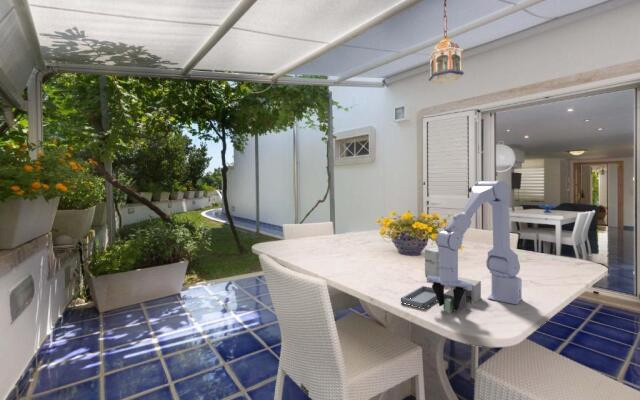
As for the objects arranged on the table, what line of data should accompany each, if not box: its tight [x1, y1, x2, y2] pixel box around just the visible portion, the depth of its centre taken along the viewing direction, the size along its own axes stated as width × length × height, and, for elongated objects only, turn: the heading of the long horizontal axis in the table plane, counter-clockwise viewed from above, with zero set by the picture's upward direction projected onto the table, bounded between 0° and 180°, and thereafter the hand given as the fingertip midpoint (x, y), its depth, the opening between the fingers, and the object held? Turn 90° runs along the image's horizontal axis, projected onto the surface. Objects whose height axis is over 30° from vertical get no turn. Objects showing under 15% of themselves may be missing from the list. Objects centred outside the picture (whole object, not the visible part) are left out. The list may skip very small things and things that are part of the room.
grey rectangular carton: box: [442, 288, 467, 314], centre depth 114 cm, size 10×5×5 cm, turn 138°
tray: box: [400, 285, 438, 309], centre depth 123 cm, size 9×18×2 cm, turn 137°
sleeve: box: [450, 276, 482, 304], centre depth 123 cm, size 7×8×6 cm
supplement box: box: [424, 247, 440, 277], centre depth 150 cm, size 7×7×13 cm
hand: (448, 307), depth 111 cm, fingers closed on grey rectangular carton, 4 cm apart
